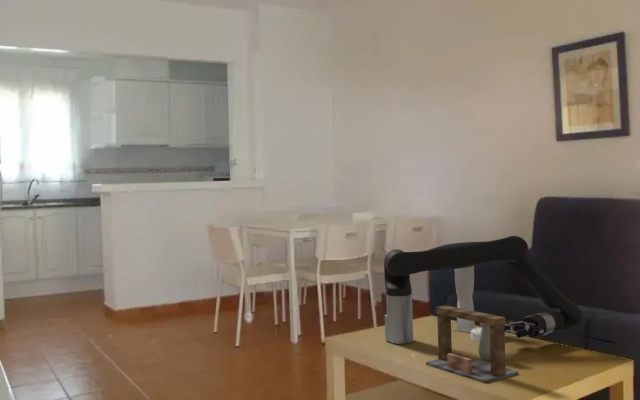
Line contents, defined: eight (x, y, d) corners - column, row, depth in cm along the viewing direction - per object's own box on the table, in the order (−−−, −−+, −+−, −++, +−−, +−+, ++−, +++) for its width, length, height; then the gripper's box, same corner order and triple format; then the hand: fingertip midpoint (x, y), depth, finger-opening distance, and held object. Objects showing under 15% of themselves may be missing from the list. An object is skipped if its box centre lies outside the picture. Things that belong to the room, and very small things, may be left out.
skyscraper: (480, 329, 260) (478, 257, 258) (473, 334, 253) (471, 260, 251) (459, 327, 264) (456, 256, 263) (452, 332, 257) (449, 259, 256)
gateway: (426, 364, 215) (424, 309, 214) (457, 356, 222) (456, 303, 222) (485, 383, 194) (484, 322, 193) (518, 373, 202) (516, 314, 201)
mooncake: (465, 341, 243) (465, 331, 243) (477, 334, 253) (477, 324, 253) (498, 344, 236) (498, 334, 236) (509, 337, 246) (509, 327, 246)
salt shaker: (497, 360, 216) (496, 320, 215) (478, 360, 217) (477, 320, 217) (496, 355, 222) (495, 316, 221) (478, 355, 223) (477, 316, 222)
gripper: (521, 311, 239) (490, 317, 230) (555, 317, 228) (523, 324, 219) (522, 331, 240) (490, 339, 231) (556, 339, 228) (524, 347, 219)
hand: (506, 332), depth 225 cm, fingers open, 8 cm apart
